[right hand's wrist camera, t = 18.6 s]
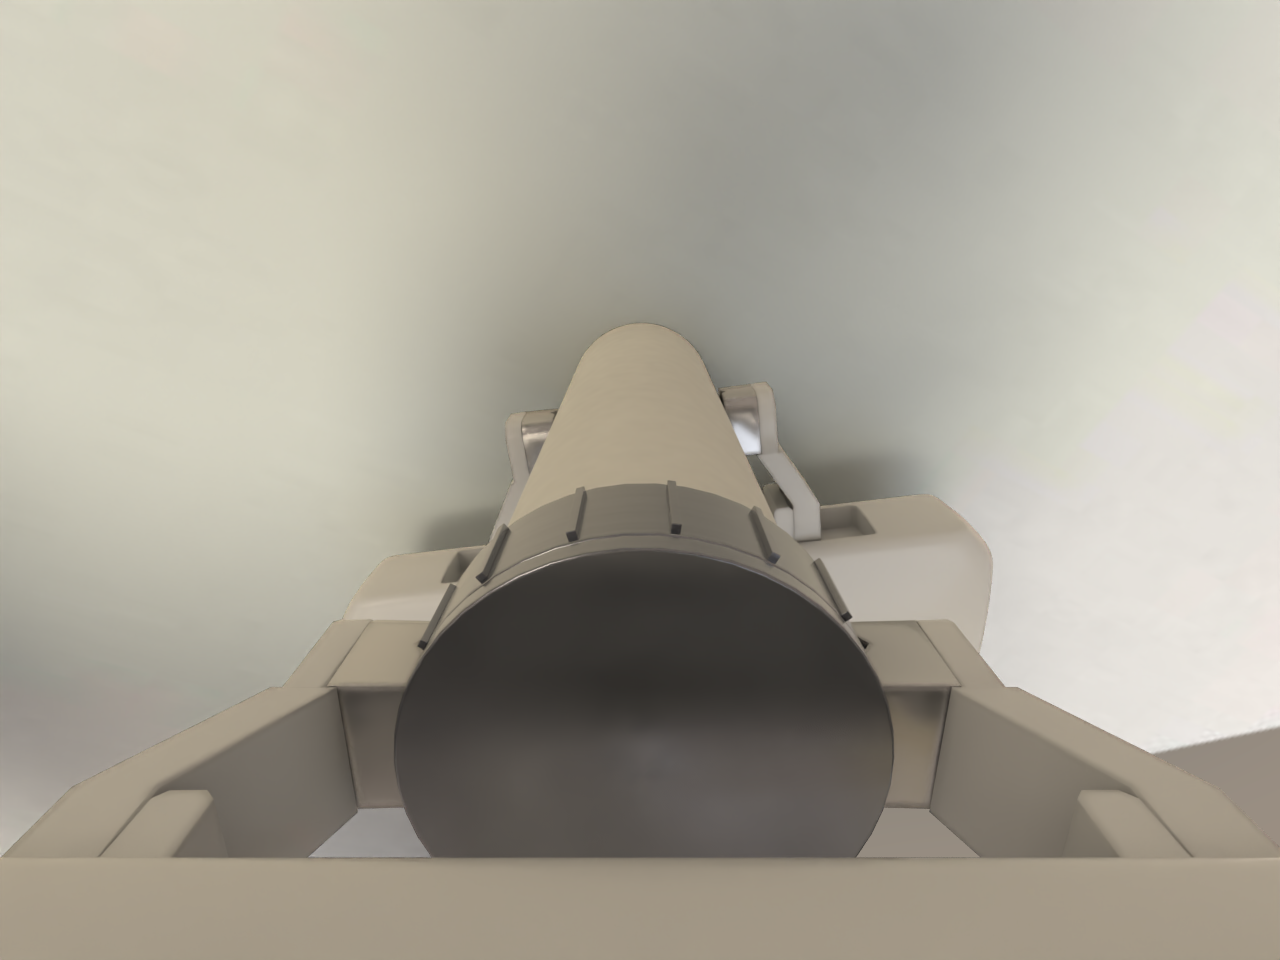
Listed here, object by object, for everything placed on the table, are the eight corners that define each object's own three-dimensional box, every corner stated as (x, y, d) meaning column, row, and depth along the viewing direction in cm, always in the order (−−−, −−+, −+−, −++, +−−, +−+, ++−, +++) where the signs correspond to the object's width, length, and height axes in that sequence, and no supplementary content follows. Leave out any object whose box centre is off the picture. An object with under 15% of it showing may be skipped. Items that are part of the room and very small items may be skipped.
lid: (562, 881, 11) (547, 1008, 9) (353, 592, 9) (284, 681, 8) (909, 746, 10) (967, 859, 8) (748, 401, 9) (777, 450, 7)
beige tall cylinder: (545, 386, 26) (347, 726, 9) (646, 292, 25) (663, 460, 7) (636, 481, 28) (629, 950, 10) (736, 396, 26) (935, 752, 9)
